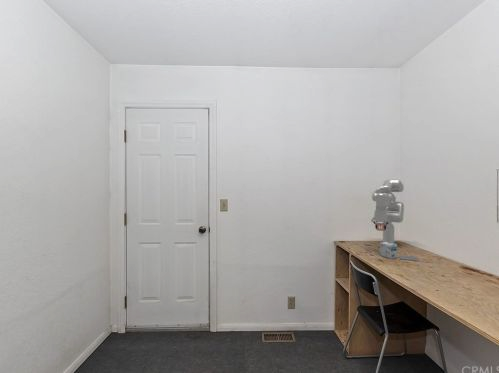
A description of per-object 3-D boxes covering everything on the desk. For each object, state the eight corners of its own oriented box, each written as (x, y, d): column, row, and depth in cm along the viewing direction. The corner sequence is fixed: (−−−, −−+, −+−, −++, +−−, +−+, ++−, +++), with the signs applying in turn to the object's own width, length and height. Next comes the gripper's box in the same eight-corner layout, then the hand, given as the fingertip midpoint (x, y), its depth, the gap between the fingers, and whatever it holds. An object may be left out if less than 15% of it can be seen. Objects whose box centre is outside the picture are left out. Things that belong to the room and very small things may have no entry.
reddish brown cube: (377, 229, 235) (377, 223, 235) (384, 229, 233) (384, 223, 233) (376, 230, 230) (377, 223, 230) (384, 230, 228) (384, 224, 228)
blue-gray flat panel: (399, 255, 221) (399, 255, 221) (416, 257, 215) (416, 256, 215) (400, 259, 210) (400, 258, 210) (418, 261, 205) (418, 260, 205)
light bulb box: (397, 258, 214) (397, 244, 214) (391, 259, 211) (391, 245, 211) (386, 254, 224) (386, 241, 223) (379, 255, 221) (379, 242, 221)
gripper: (392, 208, 231) (392, 229, 231) (369, 207, 238) (369, 228, 239) (392, 209, 224) (392, 231, 224) (369, 208, 232) (369, 229, 232)
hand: (380, 229), depth 231 cm, fingers closed on reddish brown cube, 5 cm apart
